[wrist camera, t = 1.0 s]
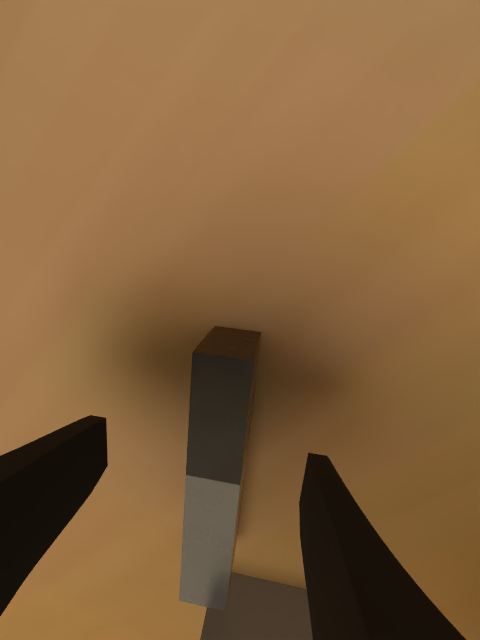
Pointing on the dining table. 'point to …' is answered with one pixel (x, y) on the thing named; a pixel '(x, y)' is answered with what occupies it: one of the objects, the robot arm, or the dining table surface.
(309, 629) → the tile
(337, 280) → the dining table surface
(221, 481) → the tall grey pillar block
